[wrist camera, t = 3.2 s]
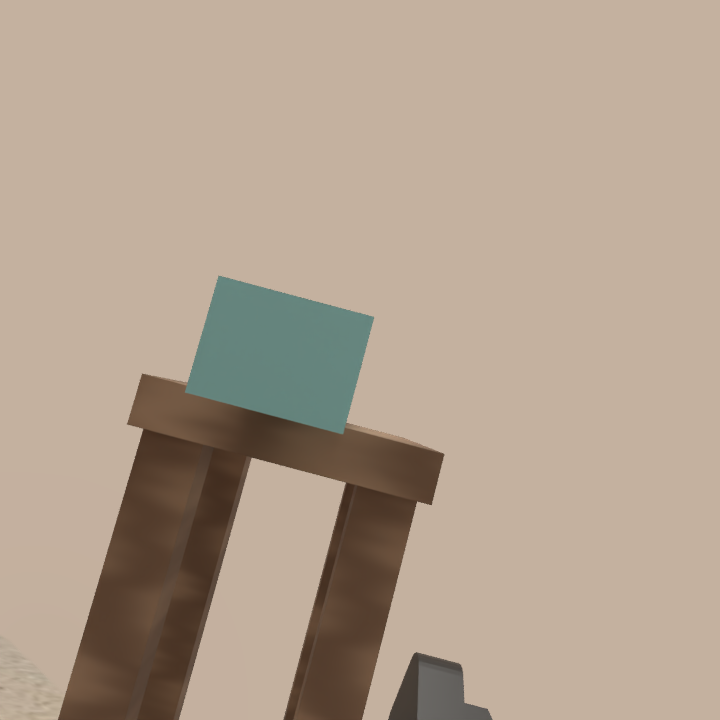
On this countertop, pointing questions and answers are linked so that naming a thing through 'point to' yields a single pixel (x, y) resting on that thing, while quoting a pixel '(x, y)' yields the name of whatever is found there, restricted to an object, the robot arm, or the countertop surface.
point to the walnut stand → (208, 545)
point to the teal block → (280, 355)
